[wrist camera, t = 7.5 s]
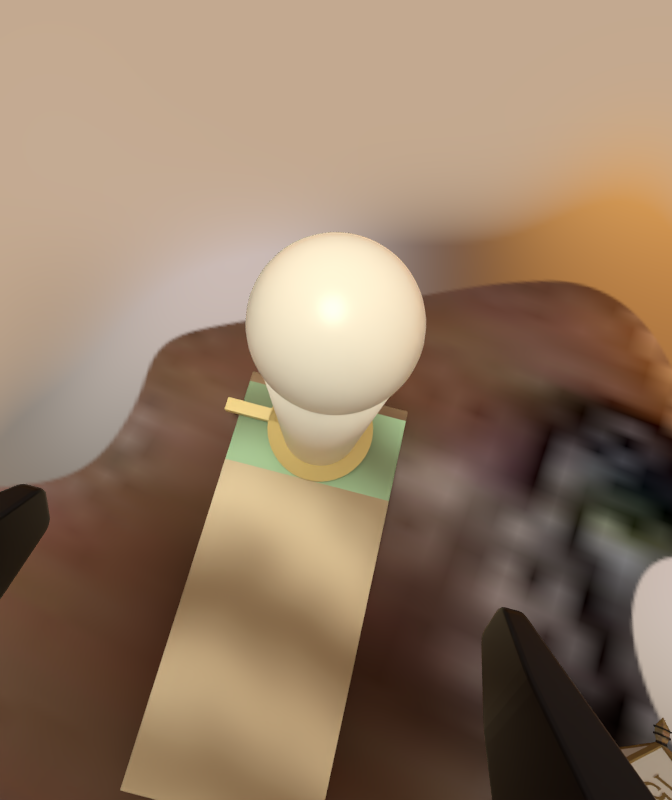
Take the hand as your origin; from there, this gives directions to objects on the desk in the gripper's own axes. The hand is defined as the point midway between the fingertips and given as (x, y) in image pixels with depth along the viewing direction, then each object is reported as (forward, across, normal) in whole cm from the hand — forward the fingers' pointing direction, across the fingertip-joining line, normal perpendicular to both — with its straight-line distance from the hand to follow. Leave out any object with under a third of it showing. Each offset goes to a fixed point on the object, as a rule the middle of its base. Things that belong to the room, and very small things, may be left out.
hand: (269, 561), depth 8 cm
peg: (+12, +1, +5) cm, 13 cm away
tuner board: (+8, 0, +10) cm, 13 cm away
